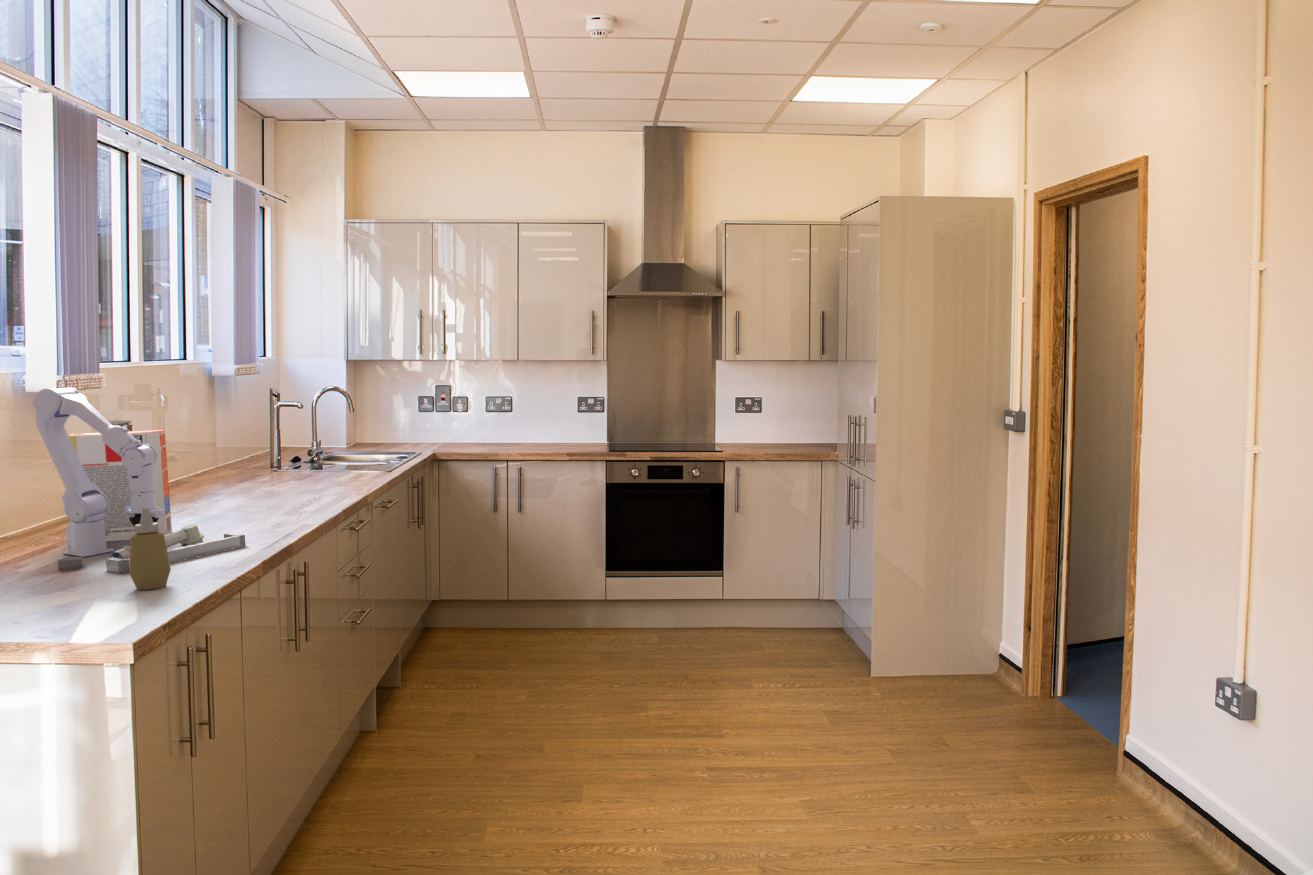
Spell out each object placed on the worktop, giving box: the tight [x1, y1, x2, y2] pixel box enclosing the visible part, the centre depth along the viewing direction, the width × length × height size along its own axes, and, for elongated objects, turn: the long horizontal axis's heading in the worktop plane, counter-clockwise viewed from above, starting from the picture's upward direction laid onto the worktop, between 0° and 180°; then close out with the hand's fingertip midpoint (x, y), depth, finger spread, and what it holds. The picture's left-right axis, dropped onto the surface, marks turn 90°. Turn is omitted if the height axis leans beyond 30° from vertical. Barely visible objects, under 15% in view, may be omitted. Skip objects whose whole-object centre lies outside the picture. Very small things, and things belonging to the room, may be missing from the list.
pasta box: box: [67, 429, 173, 542], centre depth 256 cm, size 23×8×30 cm, turn 109°
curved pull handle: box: [105, 532, 246, 575], centre depth 230 cm, size 7×33×3 cm, turn 151°
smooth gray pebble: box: [57, 556, 84, 572], centre depth 221 cm, size 5×5×2 cm
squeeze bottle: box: [129, 508, 172, 591], centre depth 201 cm, size 8×8×18 cm
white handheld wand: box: [109, 524, 205, 559], centre depth 234 cm, size 5×7×25 cm
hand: (146, 542), depth 237 cm, fingers closed
